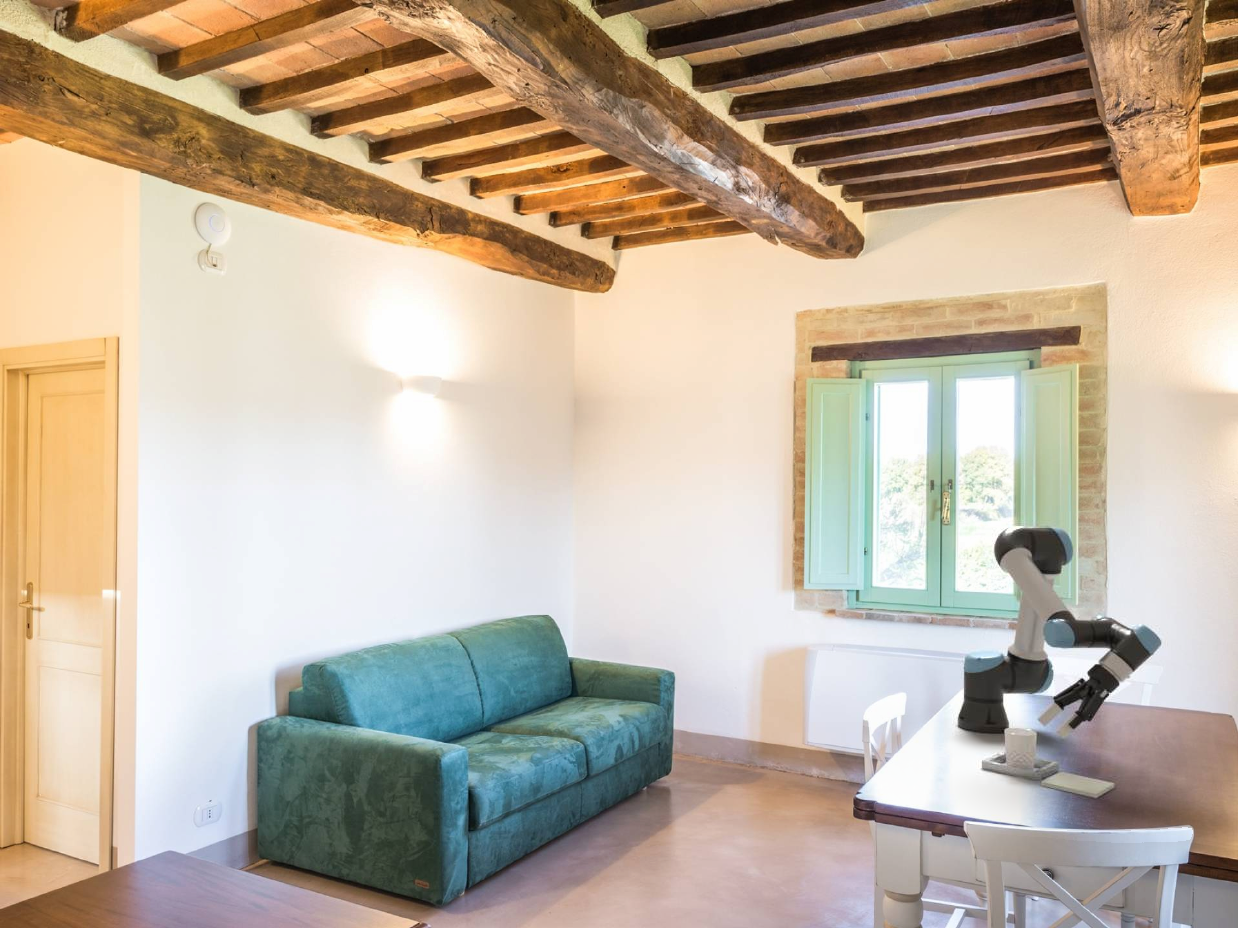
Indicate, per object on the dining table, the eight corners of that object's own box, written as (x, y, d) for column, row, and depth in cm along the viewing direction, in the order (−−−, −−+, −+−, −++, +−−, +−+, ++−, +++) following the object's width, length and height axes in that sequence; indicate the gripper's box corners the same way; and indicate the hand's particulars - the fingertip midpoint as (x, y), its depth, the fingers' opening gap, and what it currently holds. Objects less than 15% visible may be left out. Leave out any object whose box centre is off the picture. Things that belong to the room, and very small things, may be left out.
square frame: (981, 768, 253) (981, 760, 253) (1004, 758, 263) (1004, 751, 263) (1037, 780, 242) (1037, 772, 243) (1058, 770, 253) (1058, 762, 253)
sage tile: (1041, 785, 239) (1041, 781, 239) (1060, 775, 248) (1060, 771, 248) (1096, 797, 229) (1096, 793, 229) (1114, 787, 239) (1114, 783, 239)
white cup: (1035, 767, 255) (1035, 729, 255) (1037, 775, 248) (1038, 736, 248) (1003, 763, 258) (1003, 726, 258) (1004, 771, 250) (1005, 733, 251)
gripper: (1141, 693, 238) (1079, 751, 239) (1099, 674, 263) (1043, 727, 263) (1119, 671, 239) (1057, 729, 239) (1079, 654, 263) (1023, 707, 264)
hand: (1049, 728), depth 251 cm, fingers open, 13 cm apart
